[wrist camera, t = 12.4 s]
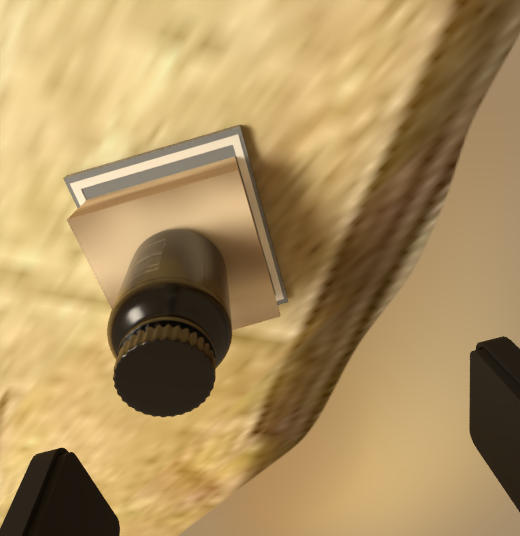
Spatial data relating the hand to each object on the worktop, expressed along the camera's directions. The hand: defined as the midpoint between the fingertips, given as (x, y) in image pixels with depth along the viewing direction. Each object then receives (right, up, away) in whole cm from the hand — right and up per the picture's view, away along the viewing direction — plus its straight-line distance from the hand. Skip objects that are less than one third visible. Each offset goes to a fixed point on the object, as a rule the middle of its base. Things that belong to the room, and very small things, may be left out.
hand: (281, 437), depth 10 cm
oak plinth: (-7, +6, +25) cm, 27 cm away
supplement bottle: (-6, +4, +21) cm, 22 cm away
